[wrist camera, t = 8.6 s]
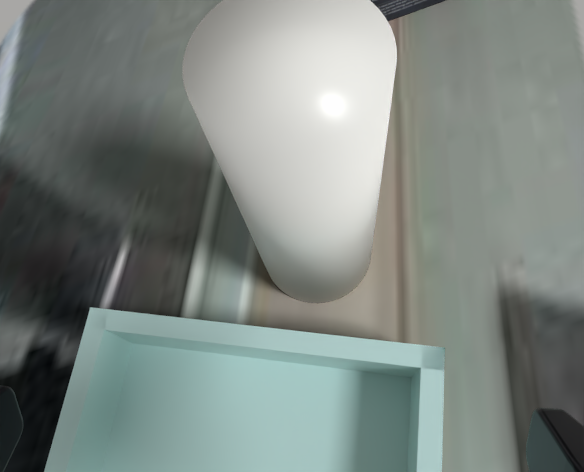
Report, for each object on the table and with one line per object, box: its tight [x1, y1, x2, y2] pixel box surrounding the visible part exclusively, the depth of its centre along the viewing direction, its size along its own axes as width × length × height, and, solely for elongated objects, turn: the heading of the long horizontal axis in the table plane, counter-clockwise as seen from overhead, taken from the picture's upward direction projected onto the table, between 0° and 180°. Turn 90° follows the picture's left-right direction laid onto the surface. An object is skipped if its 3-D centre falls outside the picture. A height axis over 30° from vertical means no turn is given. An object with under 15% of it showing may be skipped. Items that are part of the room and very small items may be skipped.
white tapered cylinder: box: [183, 0, 397, 303], centre depth 18 cm, size 5×5×13 cm
